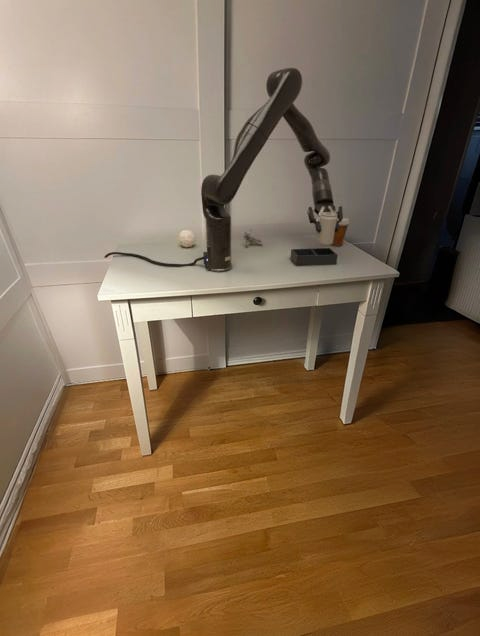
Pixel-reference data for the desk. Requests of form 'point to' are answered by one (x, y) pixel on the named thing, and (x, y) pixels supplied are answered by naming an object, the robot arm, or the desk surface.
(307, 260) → the divided tray
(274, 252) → the desk surface
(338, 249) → the desk surface
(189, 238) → the geometric ball
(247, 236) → the elephant figurine
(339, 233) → the disposable coffee cup
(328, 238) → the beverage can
